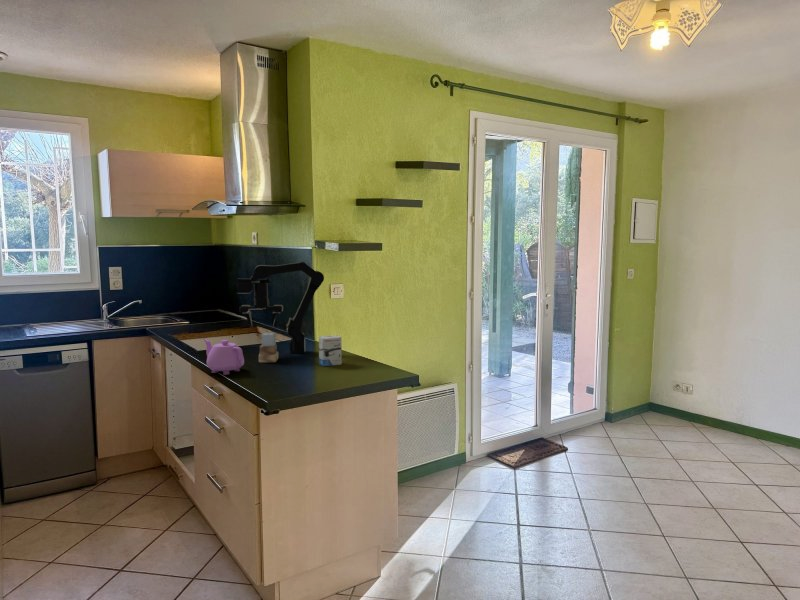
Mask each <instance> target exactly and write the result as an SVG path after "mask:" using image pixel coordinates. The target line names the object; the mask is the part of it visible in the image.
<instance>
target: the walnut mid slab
mask: <svg viewBox="0 0 800 600" xmlns="http://www.w3.org/2000/svg"><path fill="white" fill-rule="evenodd" d="M277 347H278V345H277V343H276V344H275V345H274V346H262V344H261V345H259V354H260V355H274V354H275V353H276V352H277V350H278V349H277Z"/></svg>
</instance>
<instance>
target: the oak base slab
mask: <svg viewBox="0 0 800 600" xmlns="http://www.w3.org/2000/svg"><path fill="white" fill-rule="evenodd" d="M278 359H279V351H277V352H276V353H275V354H274V355H260V353H259V354H258V363H276V362H277V361H278Z"/></svg>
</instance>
